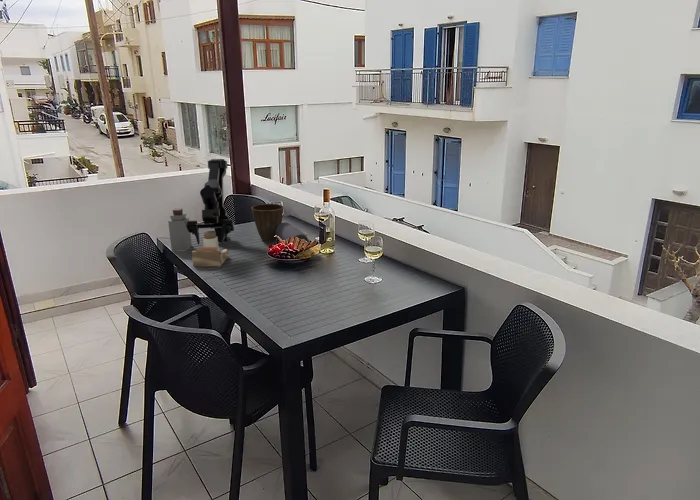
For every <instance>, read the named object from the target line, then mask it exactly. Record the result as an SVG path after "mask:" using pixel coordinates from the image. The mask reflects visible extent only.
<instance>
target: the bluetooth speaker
mask: <svg viewBox="0 0 700 500" xmlns="http://www.w3.org/2000/svg"><path fill="white" fill-rule="evenodd" d="M276 235H277V236H279V237H280V238H281V239H282V240H286V239H288V238H289V237H293V238H295V237H298V238H299V239H305V240H306V241H307V242H309V243H310V240H309V238H308V236H307V235H306V234H305V233H304V232H303V231H302V230H300V229H298V227H296V226H295V225H292V224H291V223H289V222H282V223H280V224H279V225H278V226H277V228H276Z"/></svg>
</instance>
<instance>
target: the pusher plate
mask: <svg viewBox="0 0 700 500" xmlns="http://www.w3.org/2000/svg"><path fill="white" fill-rule="evenodd" d="M198 251H218V250H217V247H203V246H199V247H198Z"/></svg>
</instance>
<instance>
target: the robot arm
mask: <svg viewBox="0 0 700 500" xmlns="http://www.w3.org/2000/svg"><path fill="white" fill-rule="evenodd" d="M207 168H208V171H209V172H208V177H207V178H208V179H207V181H206V182H205V183H204V184H203V185H204V186H203V187H202V189H201V190H200V191H199V193H200V198H201V200H202V203H203V205H204V207H203V209H202V210H201V218H202V219H201V221H202V222H203V223H198V220H189V221H187V223H186V227H187V229H188V231H189V232H190V233H191V235H194V236H195V238H196V242H197V245H200V232H199V229H214V230H213V231H215V233H216V236H217V237H218V242H220V244H223V243H224V242H227V241H229V239H230V238H231V237H230V236H229V235H228V234H231V232H234V231H235V223H234V220H233V219H231V218H230V217H229V215H228V213H227V211H226V210H225V209H226V208H225V207H224V177H226V175H227V170H228V161H227V160H225V158H212V159H210V160H209V159H208V160H207Z"/></svg>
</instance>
